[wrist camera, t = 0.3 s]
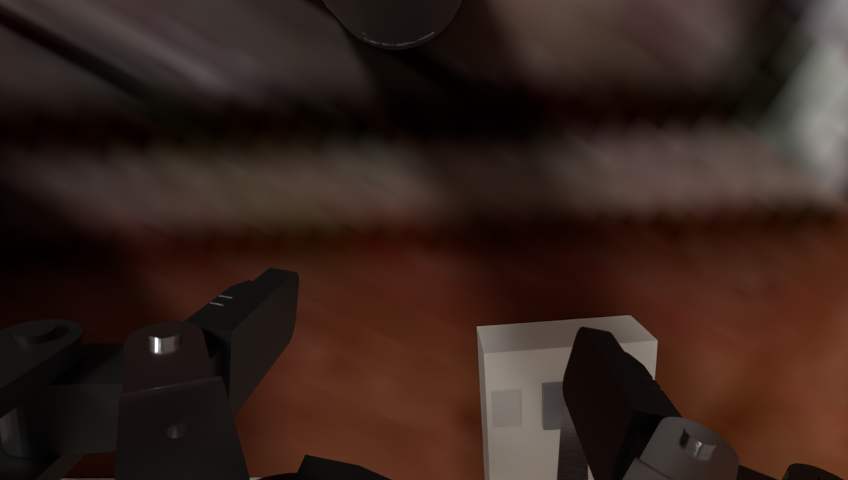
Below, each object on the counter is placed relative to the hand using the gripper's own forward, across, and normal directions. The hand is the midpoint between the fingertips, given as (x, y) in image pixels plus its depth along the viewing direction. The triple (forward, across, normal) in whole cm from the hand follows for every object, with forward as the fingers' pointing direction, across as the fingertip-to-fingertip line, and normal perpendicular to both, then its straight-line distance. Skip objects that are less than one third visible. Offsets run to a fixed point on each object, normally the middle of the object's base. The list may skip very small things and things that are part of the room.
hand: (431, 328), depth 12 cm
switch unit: (+20, -12, +19) cm, 30 cm away
